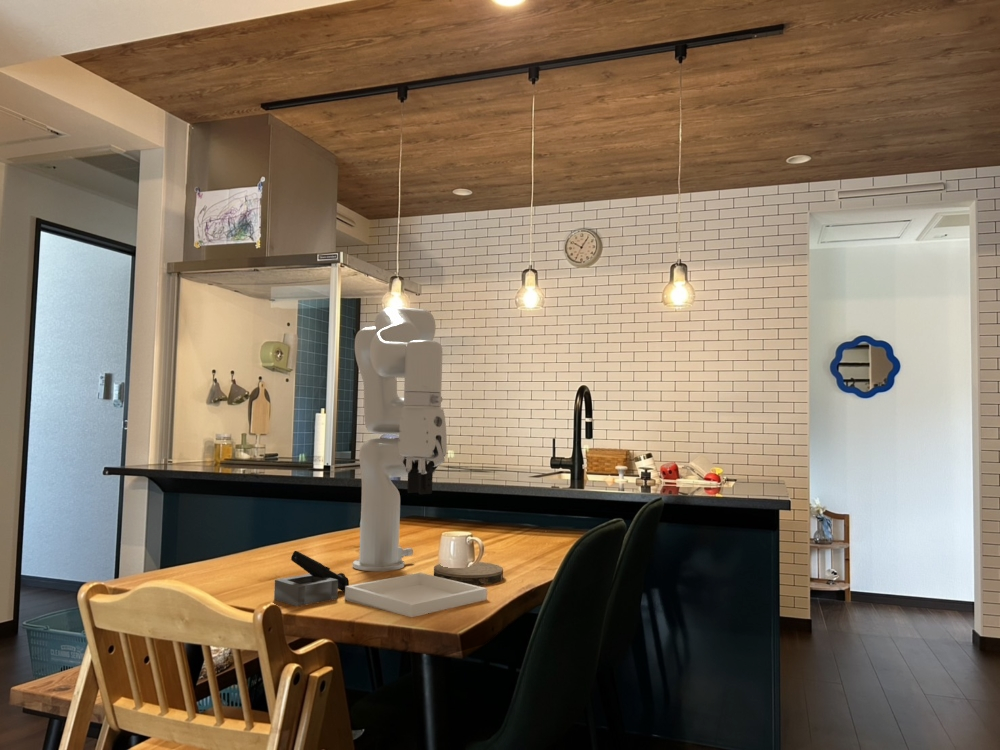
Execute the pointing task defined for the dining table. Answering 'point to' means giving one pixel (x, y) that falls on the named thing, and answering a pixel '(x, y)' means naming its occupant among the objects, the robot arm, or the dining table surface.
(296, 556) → the electric trimmer
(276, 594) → the socket block
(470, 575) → the wooden log coaster
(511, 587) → the dining table surface
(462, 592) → the tray
